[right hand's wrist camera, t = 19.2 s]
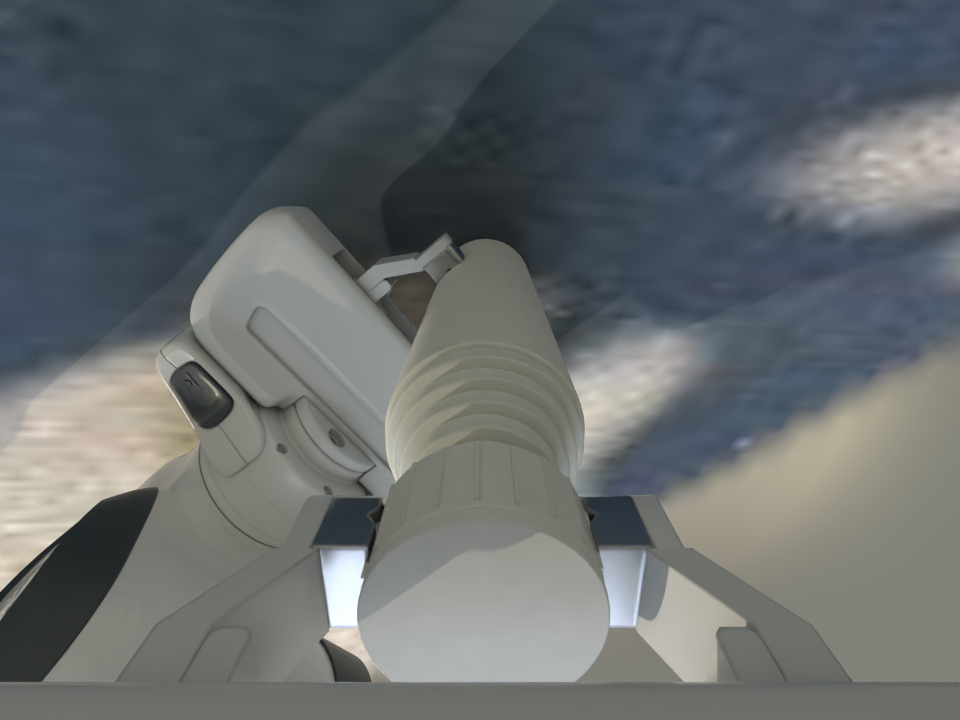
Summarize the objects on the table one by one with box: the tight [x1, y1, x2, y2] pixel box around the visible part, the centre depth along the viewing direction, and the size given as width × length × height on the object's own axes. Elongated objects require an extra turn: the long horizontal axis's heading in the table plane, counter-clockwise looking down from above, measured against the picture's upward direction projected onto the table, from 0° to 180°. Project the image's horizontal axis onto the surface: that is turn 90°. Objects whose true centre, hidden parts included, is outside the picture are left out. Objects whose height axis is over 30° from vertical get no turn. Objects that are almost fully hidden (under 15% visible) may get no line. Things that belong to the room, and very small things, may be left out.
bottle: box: [385, 239, 585, 484], centre depth 20 cm, size 5×5×25 cm
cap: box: [357, 442, 610, 682], centre depth 9 cm, size 4×4×2 cm
